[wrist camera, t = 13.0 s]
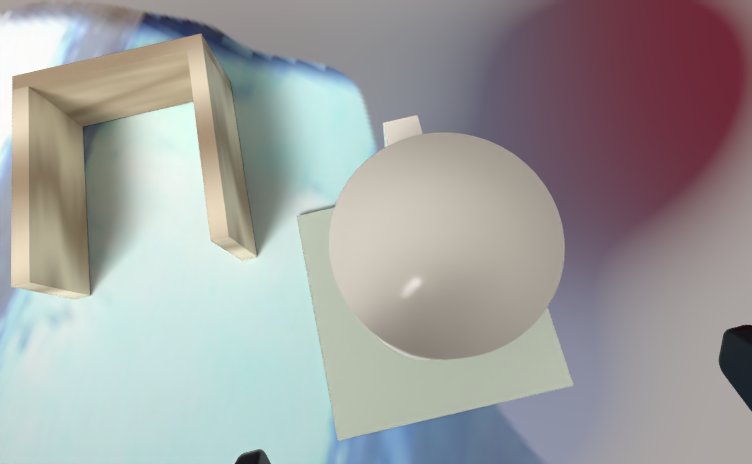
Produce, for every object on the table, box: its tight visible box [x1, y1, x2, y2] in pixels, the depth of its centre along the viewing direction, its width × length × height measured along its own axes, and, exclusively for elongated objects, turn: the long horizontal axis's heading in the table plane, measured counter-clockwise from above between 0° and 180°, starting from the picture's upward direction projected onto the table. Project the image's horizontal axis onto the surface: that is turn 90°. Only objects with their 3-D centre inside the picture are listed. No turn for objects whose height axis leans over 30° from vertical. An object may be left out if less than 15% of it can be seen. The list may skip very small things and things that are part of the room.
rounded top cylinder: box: [329, 115, 565, 361], centre depth 17 cm, size 8×6×11 cm
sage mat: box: [297, 208, 573, 441], centre depth 22 cm, size 11×11×1 cm
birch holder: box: [11, 34, 257, 299], centre depth 23 cm, size 11×10×4 cm
